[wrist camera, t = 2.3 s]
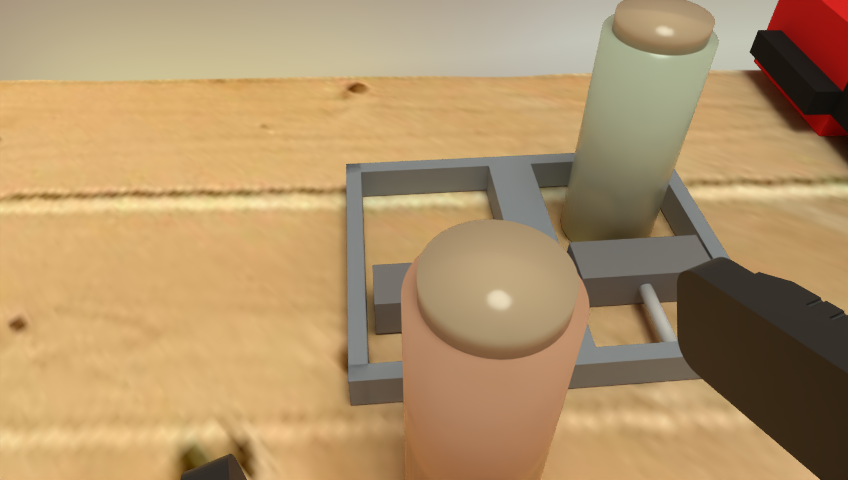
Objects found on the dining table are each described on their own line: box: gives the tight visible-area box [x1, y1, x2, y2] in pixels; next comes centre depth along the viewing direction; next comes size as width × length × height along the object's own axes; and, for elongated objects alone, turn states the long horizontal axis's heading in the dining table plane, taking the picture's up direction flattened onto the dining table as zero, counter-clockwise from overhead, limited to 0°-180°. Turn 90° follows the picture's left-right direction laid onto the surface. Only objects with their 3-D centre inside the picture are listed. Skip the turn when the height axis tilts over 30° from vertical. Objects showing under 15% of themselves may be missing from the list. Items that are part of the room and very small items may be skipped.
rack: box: [346, 153, 730, 405], centre depth 39 cm, size 23×18×3 cm
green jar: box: [561, 0, 719, 242], centre depth 38 cm, size 6×6×15 cm
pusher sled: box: [373, 263, 412, 334], centre depth 36 cm, size 8×6×3 cm
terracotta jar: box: [401, 219, 590, 480], centre depth 25 cm, size 6×6×15 cm
